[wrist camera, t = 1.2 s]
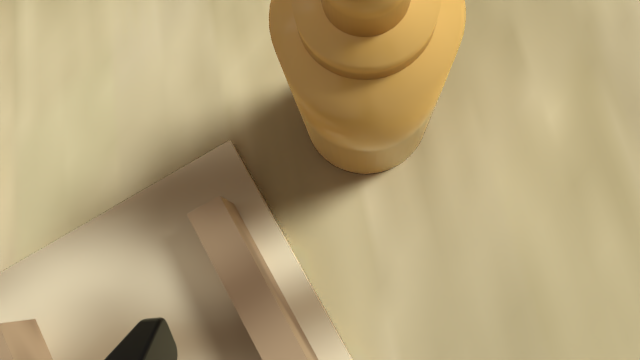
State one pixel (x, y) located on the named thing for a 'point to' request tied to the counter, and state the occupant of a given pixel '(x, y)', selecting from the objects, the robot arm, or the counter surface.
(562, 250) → the counter surface
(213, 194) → the u rest
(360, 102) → the amber bottle
